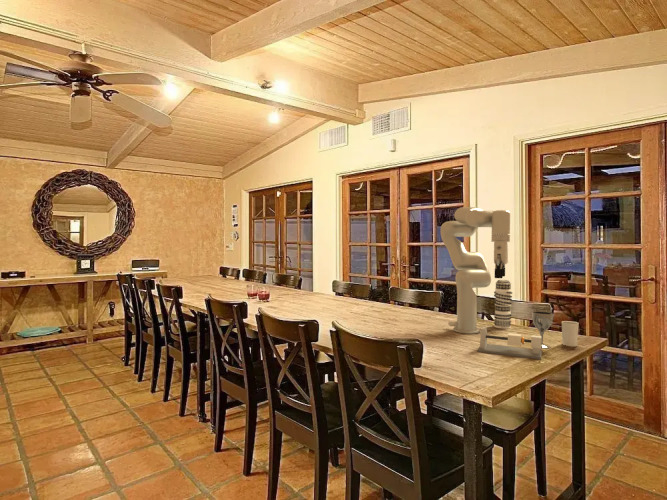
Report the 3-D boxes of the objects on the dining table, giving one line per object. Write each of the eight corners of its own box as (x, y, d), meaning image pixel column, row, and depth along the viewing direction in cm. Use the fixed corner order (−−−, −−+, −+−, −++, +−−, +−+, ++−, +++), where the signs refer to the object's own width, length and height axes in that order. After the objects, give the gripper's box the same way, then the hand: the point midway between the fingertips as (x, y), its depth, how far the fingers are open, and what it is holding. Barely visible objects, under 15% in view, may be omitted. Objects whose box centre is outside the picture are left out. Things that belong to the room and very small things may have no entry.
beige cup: (580, 347, 191) (580, 324, 190) (563, 346, 192) (564, 323, 192) (575, 343, 197) (575, 321, 197) (559, 342, 198) (559, 320, 198)
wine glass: (549, 344, 194) (550, 311, 194) (553, 349, 187) (554, 314, 186) (530, 343, 197) (531, 310, 196) (533, 347, 189) (534, 313, 188)
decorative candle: (508, 325, 236) (509, 279, 235) (514, 329, 227) (515, 281, 226) (491, 324, 237) (492, 279, 236) (496, 328, 228) (496, 281, 227)
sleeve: (507, 344, 180) (507, 335, 180) (508, 342, 184) (508, 333, 184) (520, 346, 178) (520, 336, 178) (521, 343, 182) (521, 334, 181)
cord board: (477, 351, 182) (477, 330, 182) (482, 345, 193) (482, 325, 192) (540, 359, 171) (541, 336, 171) (542, 352, 182) (542, 330, 181)
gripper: (507, 238, 182) (506, 279, 183) (511, 238, 198) (510, 276, 198) (488, 238, 186) (488, 278, 186) (494, 238, 201) (493, 275, 202)
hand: (499, 277), depth 192 cm, fingers open, 9 cm apart
